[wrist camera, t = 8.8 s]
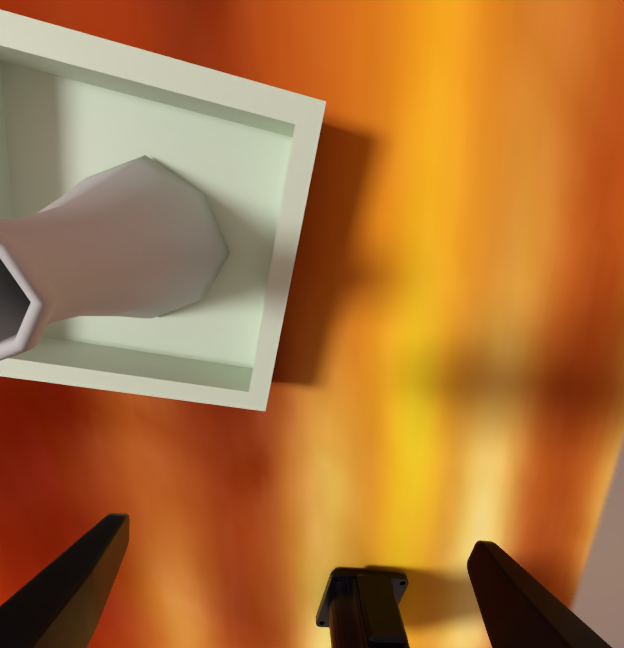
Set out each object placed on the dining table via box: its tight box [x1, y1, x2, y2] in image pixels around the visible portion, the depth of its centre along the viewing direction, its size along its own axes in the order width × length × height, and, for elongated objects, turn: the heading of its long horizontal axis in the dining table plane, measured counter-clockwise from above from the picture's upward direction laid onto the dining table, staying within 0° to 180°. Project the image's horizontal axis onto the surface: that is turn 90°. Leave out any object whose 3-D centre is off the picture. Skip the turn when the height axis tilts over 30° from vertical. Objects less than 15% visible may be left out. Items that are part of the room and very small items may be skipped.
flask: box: [0, 155, 230, 361], centre depth 11 cm, size 7×7×10 cm
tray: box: [0, 10, 326, 411], centre depth 15 cm, size 14×14×3 cm
